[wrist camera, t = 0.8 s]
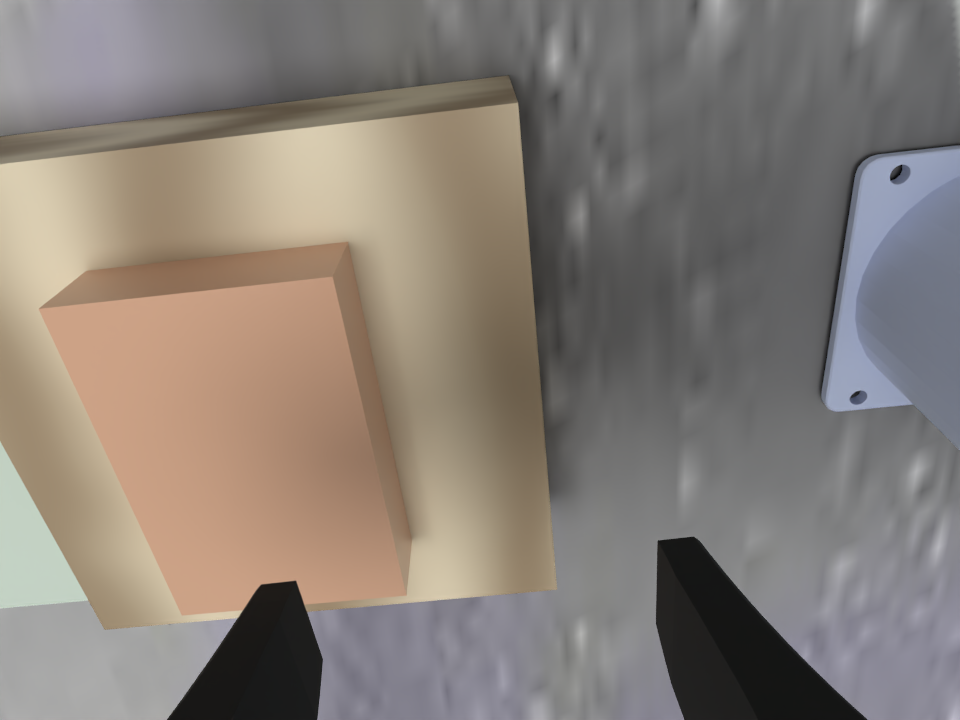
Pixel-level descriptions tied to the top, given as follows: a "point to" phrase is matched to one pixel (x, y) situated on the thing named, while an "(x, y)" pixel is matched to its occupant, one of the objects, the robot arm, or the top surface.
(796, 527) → the top surface
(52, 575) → the sage mat
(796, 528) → the top surface
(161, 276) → the terracotta tile
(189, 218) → the oak board
